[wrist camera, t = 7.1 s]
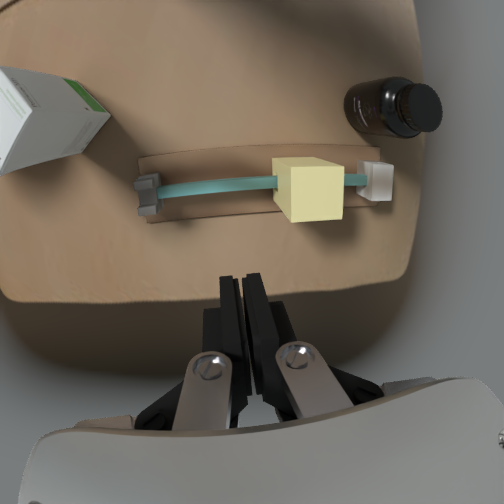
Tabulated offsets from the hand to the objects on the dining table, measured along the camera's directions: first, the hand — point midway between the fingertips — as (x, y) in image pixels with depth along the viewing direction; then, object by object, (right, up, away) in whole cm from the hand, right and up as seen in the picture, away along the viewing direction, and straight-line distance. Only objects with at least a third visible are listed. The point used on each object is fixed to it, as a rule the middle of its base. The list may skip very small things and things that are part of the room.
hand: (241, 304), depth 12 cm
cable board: (+2, +11, +20) cm, 23 cm away
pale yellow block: (+5, +11, +20) cm, 24 cm away
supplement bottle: (+15, +20, +18) cm, 31 cm away
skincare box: (-21, +19, +14) cm, 31 cm away
